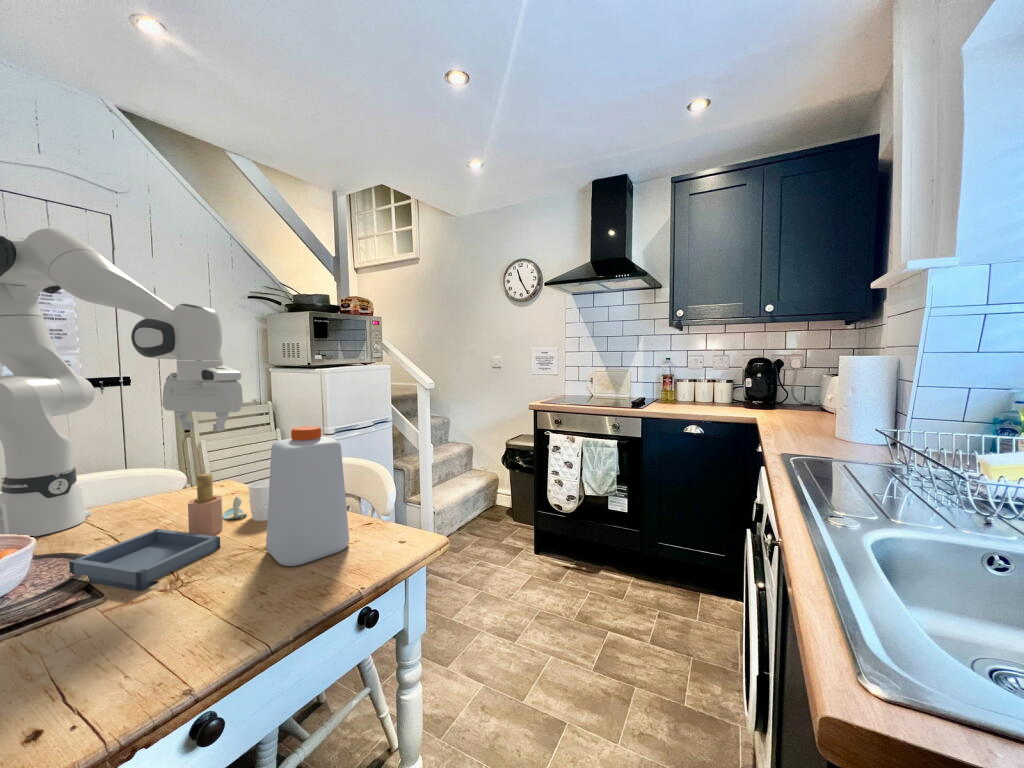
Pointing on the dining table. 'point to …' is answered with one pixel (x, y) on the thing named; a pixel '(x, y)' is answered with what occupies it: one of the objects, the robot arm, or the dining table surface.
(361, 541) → the dining table surface
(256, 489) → the white cup
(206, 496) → the dowel pin
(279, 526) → the plastic bottle
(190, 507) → the terracotta cup
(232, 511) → the pacifier
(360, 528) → the dining table surface
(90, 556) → the navy tray
